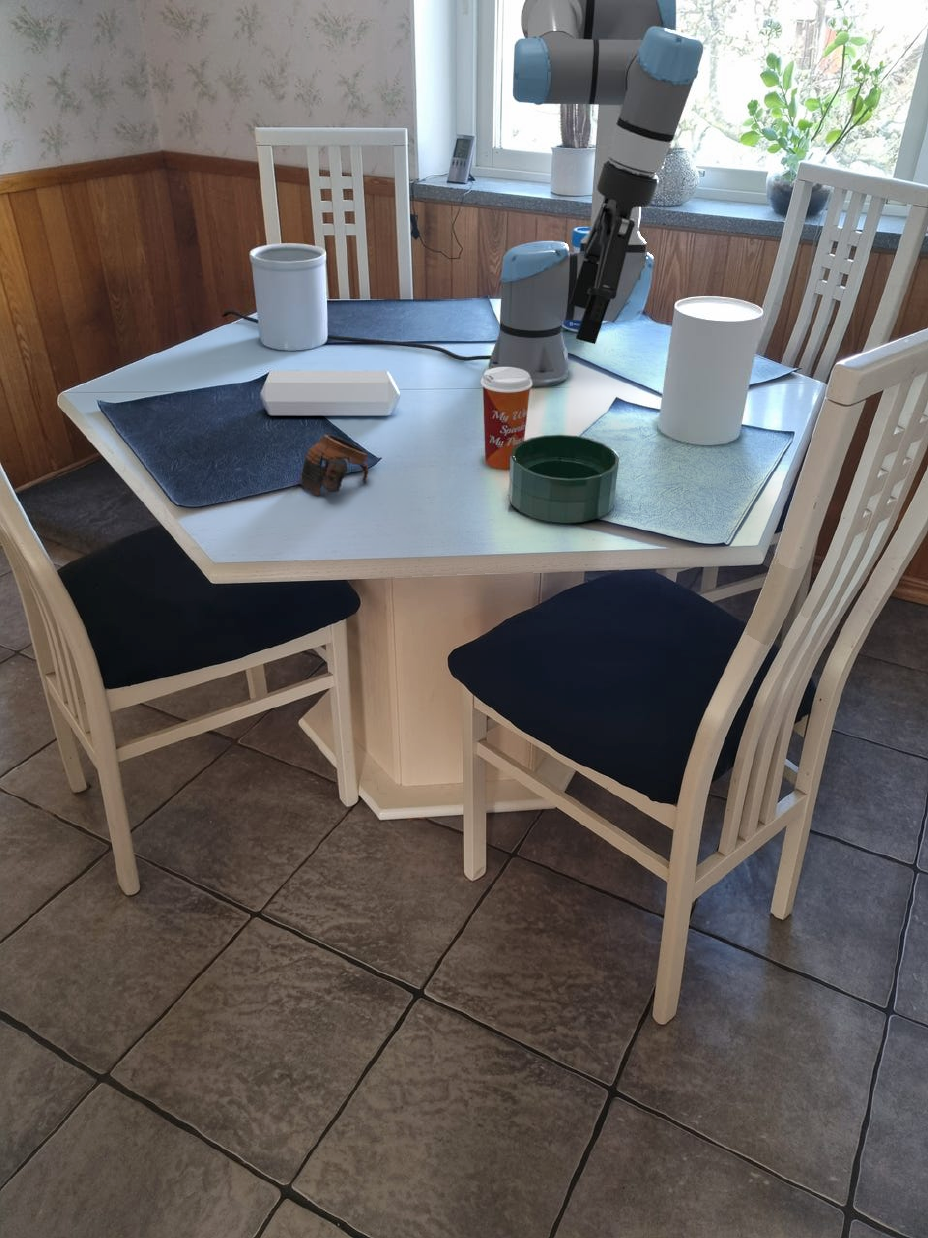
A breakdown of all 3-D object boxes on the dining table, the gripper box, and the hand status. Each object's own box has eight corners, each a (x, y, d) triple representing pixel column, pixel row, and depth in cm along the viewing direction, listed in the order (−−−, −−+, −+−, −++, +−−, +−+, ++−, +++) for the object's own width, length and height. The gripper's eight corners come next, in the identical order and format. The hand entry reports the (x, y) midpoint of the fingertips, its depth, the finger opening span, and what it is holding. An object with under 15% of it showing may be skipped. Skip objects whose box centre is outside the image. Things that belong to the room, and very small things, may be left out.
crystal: (401, 377, 164) (263, 377, 163) (399, 369, 157) (256, 369, 156) (401, 420, 165) (264, 420, 164) (400, 414, 158) (257, 414, 157)
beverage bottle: (602, 334, 199) (612, 234, 188) (562, 333, 199) (570, 233, 188) (598, 321, 206) (607, 225, 195) (560, 321, 206) (567, 224, 195)
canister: (688, 450, 150) (708, 325, 139) (642, 419, 160) (658, 301, 149) (756, 437, 154) (781, 315, 143) (708, 408, 165) (727, 292, 153)
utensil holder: (346, 337, 195) (341, 249, 185) (298, 357, 184) (291, 264, 174) (292, 325, 201) (284, 239, 191) (243, 343, 191) (232, 253, 181)
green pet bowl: (491, 510, 132) (493, 464, 128) (534, 470, 143) (537, 427, 139) (591, 535, 126) (595, 488, 122) (628, 492, 137) (633, 447, 133)
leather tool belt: (293, 477, 141) (314, 426, 139) (351, 500, 144) (372, 451, 142) (297, 493, 130) (319, 438, 128) (360, 518, 133) (382, 464, 131)
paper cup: (493, 476, 141) (496, 386, 133) (470, 456, 147) (471, 369, 139) (538, 466, 144) (543, 378, 136) (513, 447, 150) (517, 362, 142)
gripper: (674, 199, 112) (615, 363, 125) (647, 153, 132) (598, 299, 145) (615, 183, 111) (561, 350, 124) (597, 139, 131) (552, 287, 144)
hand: (581, 322), depth 134 cm, fingers open, 13 cm apart
